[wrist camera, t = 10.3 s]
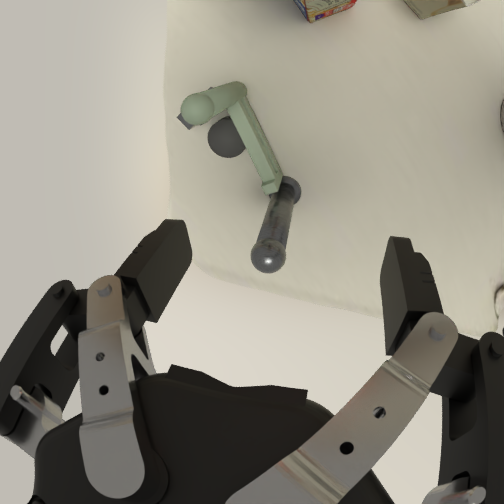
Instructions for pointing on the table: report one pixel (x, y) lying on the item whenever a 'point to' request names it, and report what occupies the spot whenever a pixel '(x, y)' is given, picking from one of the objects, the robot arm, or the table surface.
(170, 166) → the table surface
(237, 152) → the rubber door stop
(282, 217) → the hinge post
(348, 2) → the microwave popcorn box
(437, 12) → the skincare box
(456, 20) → the table surface
